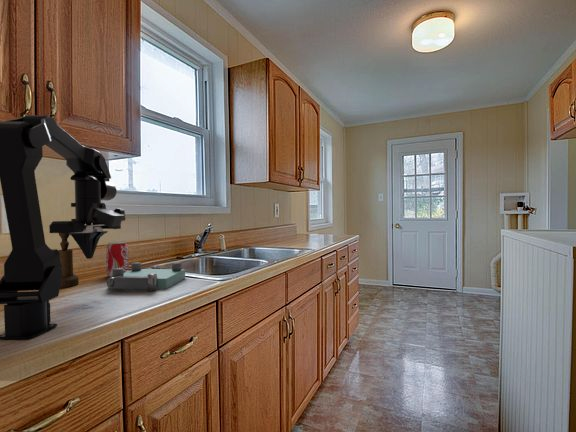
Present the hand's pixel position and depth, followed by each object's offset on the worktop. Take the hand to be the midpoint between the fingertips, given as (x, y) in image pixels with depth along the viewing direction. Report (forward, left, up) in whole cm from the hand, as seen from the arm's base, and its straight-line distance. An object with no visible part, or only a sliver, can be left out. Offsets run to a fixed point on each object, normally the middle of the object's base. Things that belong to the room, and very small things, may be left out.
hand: (89, 258), depth 81 cm
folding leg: (+8, -7, -10) cm, 15 cm away
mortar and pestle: (+14, +18, -11) cm, 26 cm away
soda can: (+28, +10, -11) cm, 32 cm away
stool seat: (+17, -7, -11) cm, 22 cm away
